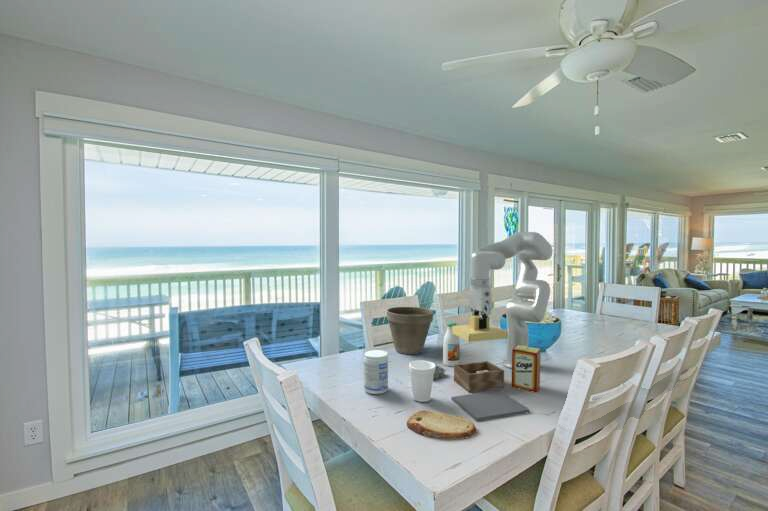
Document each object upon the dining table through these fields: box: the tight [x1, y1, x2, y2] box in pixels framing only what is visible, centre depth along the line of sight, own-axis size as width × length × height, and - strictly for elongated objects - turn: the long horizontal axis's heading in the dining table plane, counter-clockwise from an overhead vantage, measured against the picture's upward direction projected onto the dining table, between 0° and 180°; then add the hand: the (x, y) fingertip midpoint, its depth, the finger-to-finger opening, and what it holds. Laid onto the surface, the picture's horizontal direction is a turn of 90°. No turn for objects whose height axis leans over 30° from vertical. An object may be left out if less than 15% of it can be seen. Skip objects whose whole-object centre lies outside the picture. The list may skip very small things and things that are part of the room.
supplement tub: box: [363, 349, 389, 395], centre depth 143 cm, size 10×10×15 cm
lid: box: [452, 314, 508, 343], centre depth 149 cm, size 18×14×8 cm
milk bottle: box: [442, 321, 461, 367], centre depth 174 cm, size 8×8×20 cm
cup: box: [408, 360, 437, 403], centre depth 135 cm, size 10×10×13 cm
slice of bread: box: [406, 409, 478, 440], centre depth 116 cm, size 18×18×4 cm
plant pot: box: [386, 306, 434, 355], centre depth 195 cm, size 25×25×22 cm
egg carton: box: [433, 363, 447, 379], centre depth 159 cm, size 11×8×4 cm
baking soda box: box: [511, 345, 542, 393], centre depth 147 cm, size 10×6×16 cm
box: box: [453, 360, 505, 393], centre depth 150 cm, size 16×12×7 cm
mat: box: [451, 389, 530, 422], centre depth 131 cm, size 21×17×1 cm
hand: (479, 326), depth 149 cm, fingers closed on lid, 4 cm apart
